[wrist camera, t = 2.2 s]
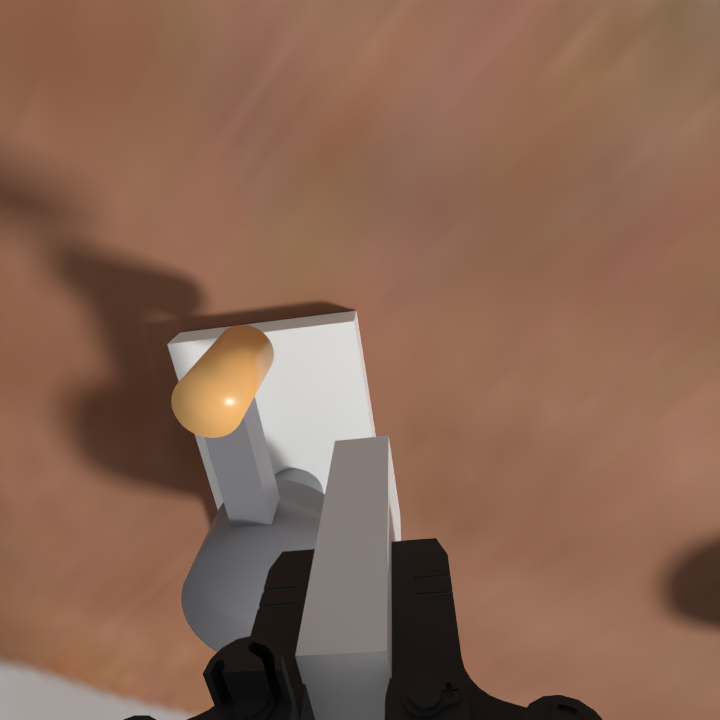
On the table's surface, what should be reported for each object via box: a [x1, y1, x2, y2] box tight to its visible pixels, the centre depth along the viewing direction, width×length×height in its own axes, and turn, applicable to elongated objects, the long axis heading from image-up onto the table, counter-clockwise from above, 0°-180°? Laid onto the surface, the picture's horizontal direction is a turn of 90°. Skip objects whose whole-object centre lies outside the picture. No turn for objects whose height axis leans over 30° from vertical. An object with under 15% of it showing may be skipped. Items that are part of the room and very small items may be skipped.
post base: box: [167, 311, 376, 510], centre depth 33 cm, size 22×11×6 cm, turn 8°
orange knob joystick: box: [171, 325, 325, 652], centre depth 27 cm, size 16×8×6 cm, turn 8°
